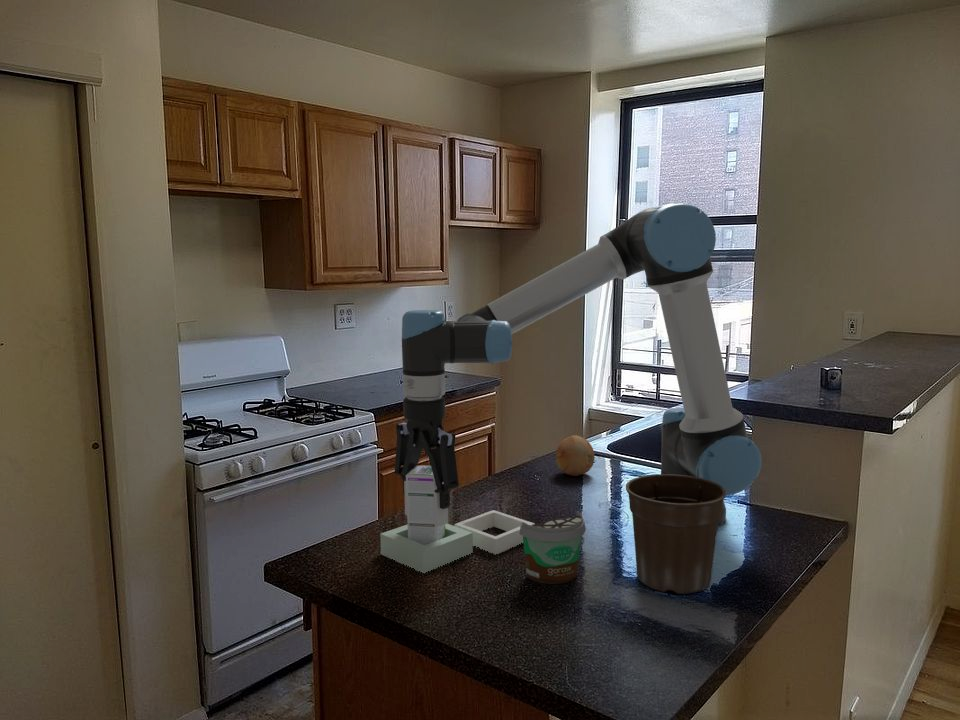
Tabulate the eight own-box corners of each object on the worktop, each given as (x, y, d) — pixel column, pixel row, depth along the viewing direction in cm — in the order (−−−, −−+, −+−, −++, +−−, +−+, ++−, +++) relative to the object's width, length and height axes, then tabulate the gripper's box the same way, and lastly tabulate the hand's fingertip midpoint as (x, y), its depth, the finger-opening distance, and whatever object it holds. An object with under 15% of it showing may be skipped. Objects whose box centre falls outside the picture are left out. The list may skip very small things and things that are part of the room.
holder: (534, 538, 142) (534, 523, 142) (495, 554, 135) (495, 539, 134) (493, 524, 150) (493, 510, 150) (454, 538, 142) (454, 524, 142)
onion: (584, 483, 176) (585, 442, 175) (548, 476, 182) (548, 437, 180) (601, 473, 184) (601, 434, 183) (565, 467, 190) (566, 429, 188)
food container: (538, 593, 119) (538, 534, 118) (519, 578, 125) (519, 522, 123) (599, 577, 125) (600, 521, 124) (578, 564, 130) (579, 510, 129)
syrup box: (438, 552, 132) (437, 475, 130) (406, 550, 133) (405, 473, 131) (446, 540, 137) (445, 465, 135) (415, 538, 138) (414, 464, 136)
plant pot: (603, 574, 126) (605, 484, 124) (665, 552, 136) (668, 467, 133) (679, 610, 113) (682, 510, 111) (742, 583, 123) (746, 490, 120)
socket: (472, 553, 135) (472, 532, 135) (423, 573, 127) (423, 551, 126) (429, 536, 144) (429, 516, 143) (380, 554, 135) (380, 533, 135)
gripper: (372, 392, 136) (375, 510, 139) (447, 407, 121) (449, 539, 125) (403, 387, 141) (406, 501, 144) (479, 401, 127) (480, 527, 130)
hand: (426, 518), depth 134 cm, fingers closed on syrup box, 7 cm apart
